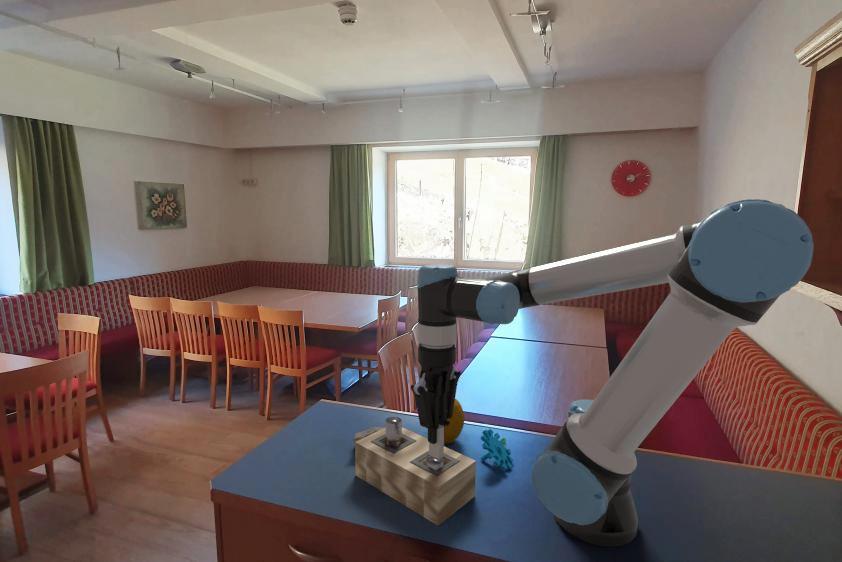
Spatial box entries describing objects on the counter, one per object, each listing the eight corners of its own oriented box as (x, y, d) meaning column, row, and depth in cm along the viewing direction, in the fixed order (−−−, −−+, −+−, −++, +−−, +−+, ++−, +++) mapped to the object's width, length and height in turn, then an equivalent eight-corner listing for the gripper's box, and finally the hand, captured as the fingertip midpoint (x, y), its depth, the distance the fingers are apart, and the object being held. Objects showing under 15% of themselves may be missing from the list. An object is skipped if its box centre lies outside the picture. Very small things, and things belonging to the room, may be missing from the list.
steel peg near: (446, 493, 92) (447, 459, 91) (435, 501, 90) (436, 466, 89) (433, 485, 95) (433, 453, 94) (422, 493, 92) (422, 460, 91)
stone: (393, 440, 116) (393, 419, 115) (394, 457, 108) (394, 435, 107) (354, 442, 115) (354, 420, 114) (353, 459, 107) (352, 436, 106)
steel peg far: (405, 451, 100) (405, 420, 98) (393, 458, 97) (393, 425, 96) (393, 445, 102) (393, 415, 101) (382, 452, 99) (382, 420, 98)
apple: (445, 427, 123) (446, 386, 121) (472, 440, 115) (473, 397, 114) (419, 439, 116) (419, 396, 114) (445, 454, 109) (446, 409, 107)
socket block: (474, 496, 93) (476, 460, 92) (438, 525, 84) (438, 486, 83) (393, 454, 109) (393, 422, 107) (355, 475, 100) (355, 441, 99)
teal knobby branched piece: (506, 474, 98) (479, 434, 101) (486, 486, 100) (460, 447, 104) (521, 457, 108) (496, 421, 111) (503, 469, 110) (479, 433, 113)
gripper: (443, 333, 95) (442, 437, 98) (399, 346, 85) (400, 461, 88) (472, 340, 90) (470, 449, 93) (429, 355, 80) (429, 476, 83)
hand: (436, 455), depth 91 cm, fingers closed
